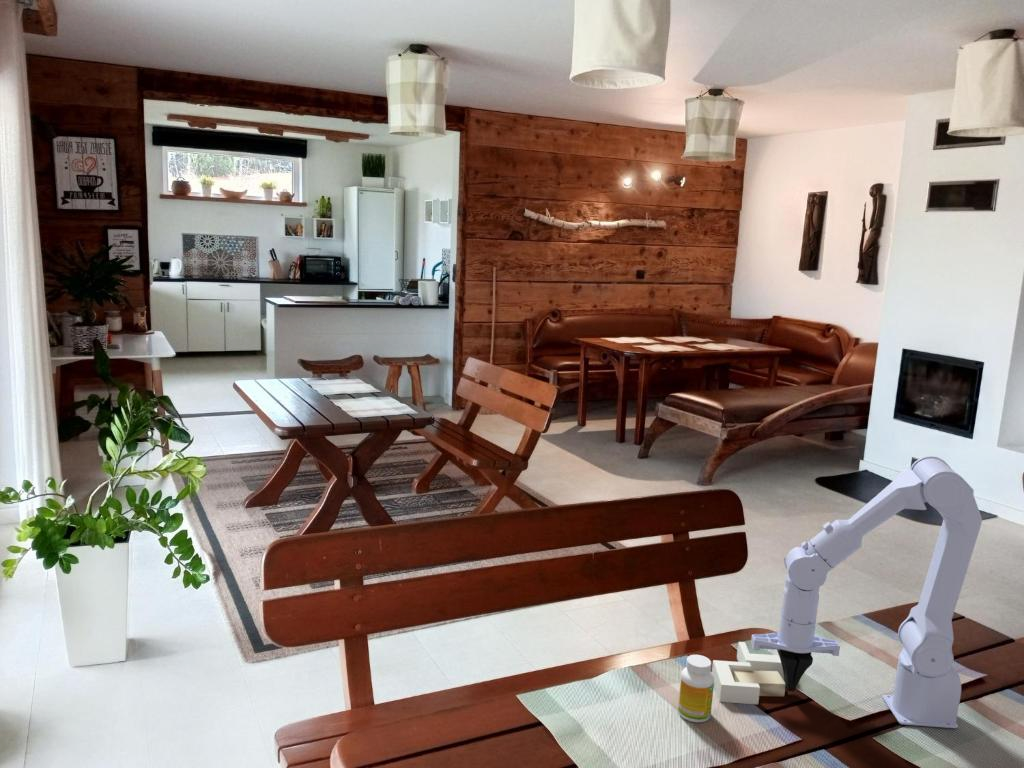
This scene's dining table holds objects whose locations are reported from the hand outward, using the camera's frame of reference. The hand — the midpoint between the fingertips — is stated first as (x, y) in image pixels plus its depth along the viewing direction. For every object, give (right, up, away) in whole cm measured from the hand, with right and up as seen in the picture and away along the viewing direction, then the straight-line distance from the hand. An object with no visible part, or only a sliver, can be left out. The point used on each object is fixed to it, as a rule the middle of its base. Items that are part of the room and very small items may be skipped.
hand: (789, 688), depth 141 cm
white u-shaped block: (-2, +1, +8) cm, 9 cm away
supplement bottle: (-18, -2, -7) cm, 19 cm away
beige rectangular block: (-5, -1, +1) cm, 5 cm away
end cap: (-10, -1, +1) cm, 10 cm away
